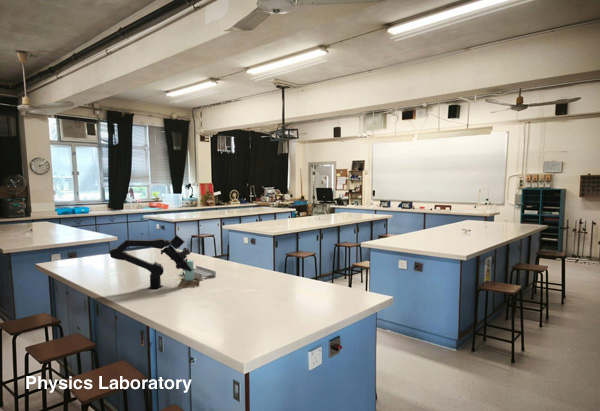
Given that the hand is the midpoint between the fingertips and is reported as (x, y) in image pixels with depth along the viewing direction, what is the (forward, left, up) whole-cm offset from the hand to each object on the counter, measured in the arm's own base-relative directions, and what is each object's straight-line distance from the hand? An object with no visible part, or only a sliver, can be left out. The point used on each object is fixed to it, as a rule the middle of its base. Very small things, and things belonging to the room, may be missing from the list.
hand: (191, 270), depth 220 cm
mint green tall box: (-1, +1, -7) cm, 7 cm away
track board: (-1, +1, -9) cm, 9 cm away
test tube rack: (+16, +8, -7) cm, 19 cm away
